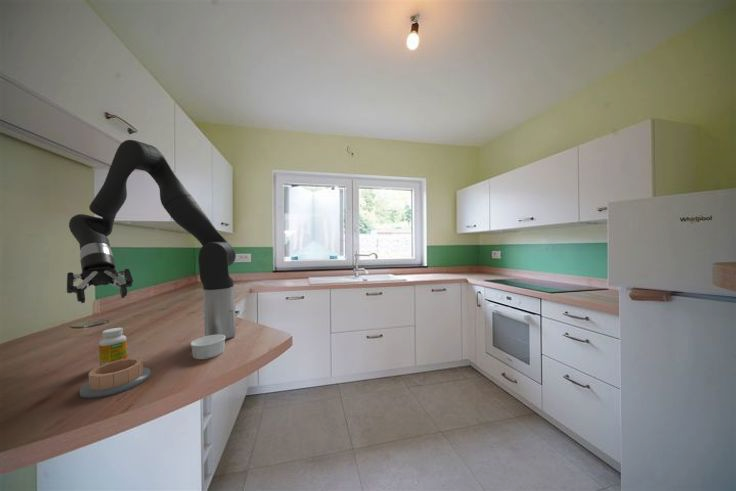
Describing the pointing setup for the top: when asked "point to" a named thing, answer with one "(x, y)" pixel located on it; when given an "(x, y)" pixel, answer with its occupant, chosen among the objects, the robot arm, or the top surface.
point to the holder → (115, 378)
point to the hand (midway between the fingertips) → (104, 298)
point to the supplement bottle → (112, 346)
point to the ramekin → (208, 346)
